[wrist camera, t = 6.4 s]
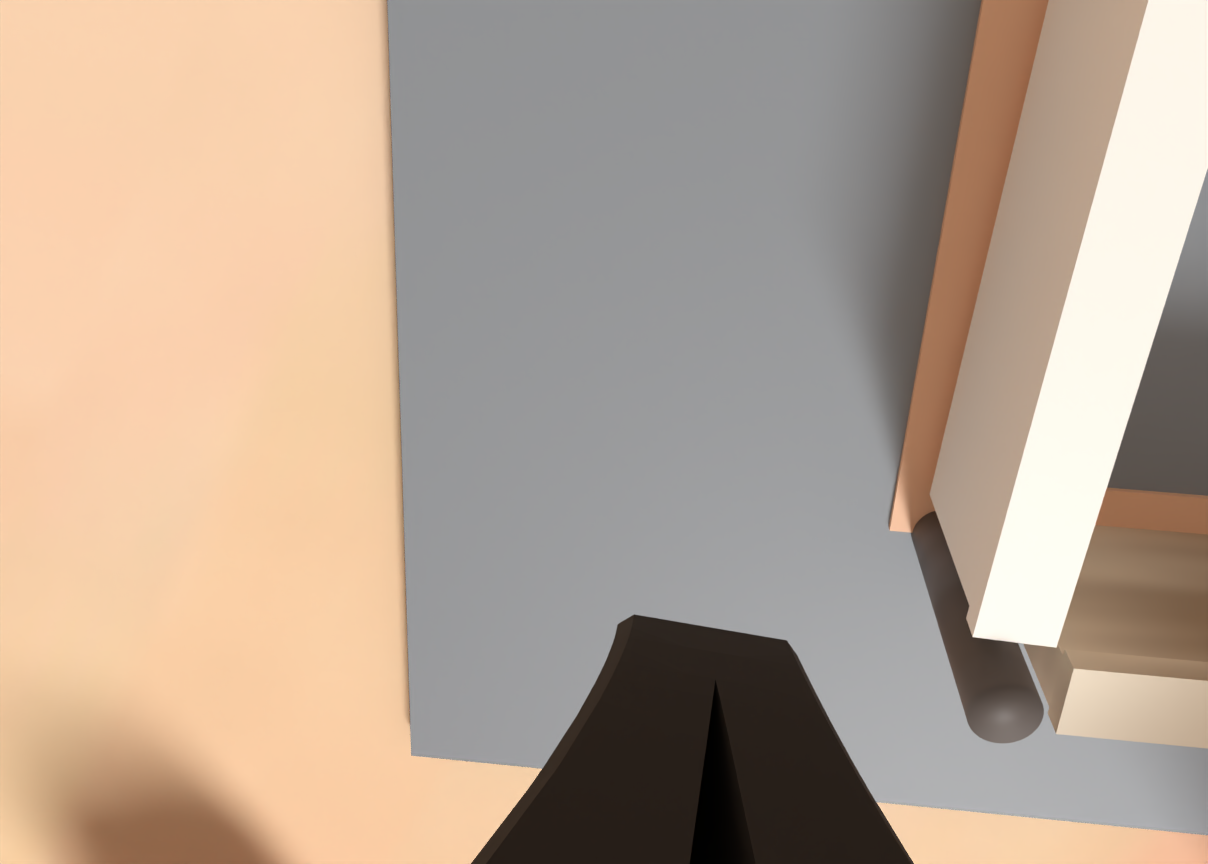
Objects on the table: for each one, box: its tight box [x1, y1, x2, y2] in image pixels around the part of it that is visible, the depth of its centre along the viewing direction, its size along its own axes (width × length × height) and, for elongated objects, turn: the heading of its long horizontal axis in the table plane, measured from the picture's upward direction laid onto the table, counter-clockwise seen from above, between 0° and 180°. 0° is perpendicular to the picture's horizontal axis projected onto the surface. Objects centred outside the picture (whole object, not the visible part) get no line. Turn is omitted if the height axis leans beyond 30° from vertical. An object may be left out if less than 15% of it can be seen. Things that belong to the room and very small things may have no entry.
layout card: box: [387, 0, 1208, 835], centre depth 17 cm, size 15×15×1 cm
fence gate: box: [930, 0, 1208, 648], centre depth 14 cm, size 7×1×4 cm, turn 175°
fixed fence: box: [911, 511, 1208, 749], centre depth 16 cm, size 7×1×4 cm, turn 87°
